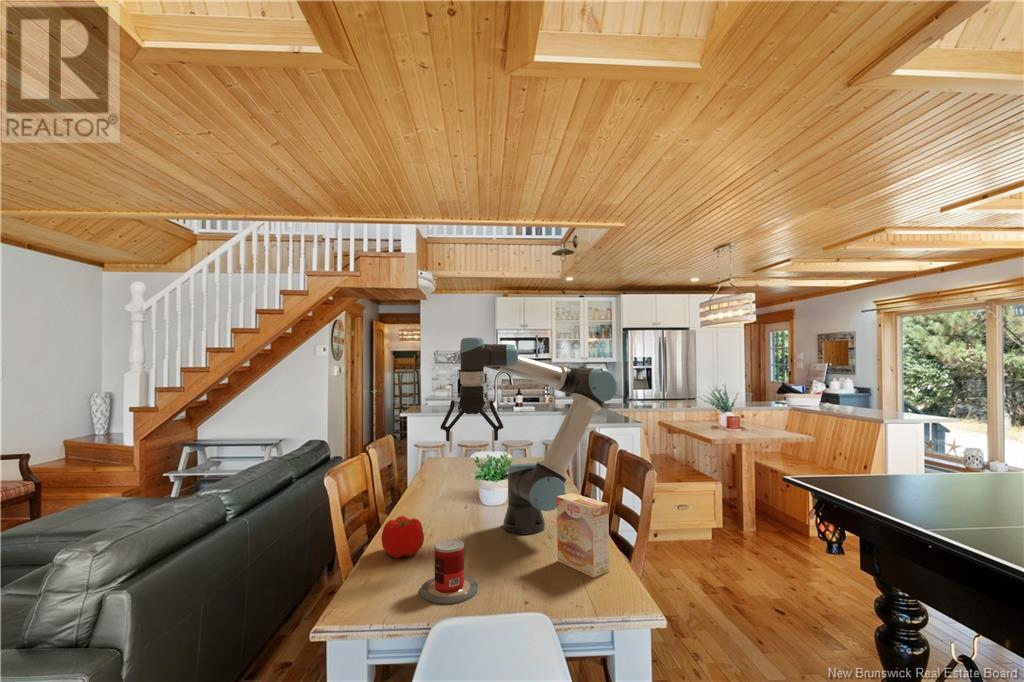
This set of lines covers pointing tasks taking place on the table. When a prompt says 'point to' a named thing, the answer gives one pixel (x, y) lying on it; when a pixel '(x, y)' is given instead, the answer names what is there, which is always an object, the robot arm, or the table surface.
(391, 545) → the tomato
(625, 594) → the table surface
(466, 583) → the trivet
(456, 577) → the canned food
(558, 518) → the coffeecake box
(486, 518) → the table surface
